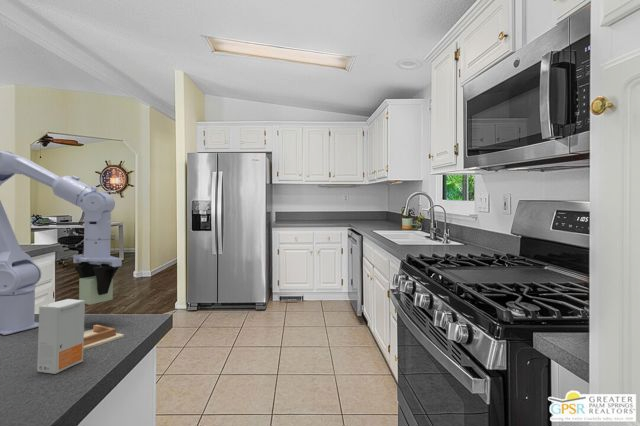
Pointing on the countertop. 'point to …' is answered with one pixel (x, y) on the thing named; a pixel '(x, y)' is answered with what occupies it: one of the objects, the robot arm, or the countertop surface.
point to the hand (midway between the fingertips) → (96, 293)
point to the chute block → (93, 291)
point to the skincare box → (60, 335)
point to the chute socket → (99, 336)
